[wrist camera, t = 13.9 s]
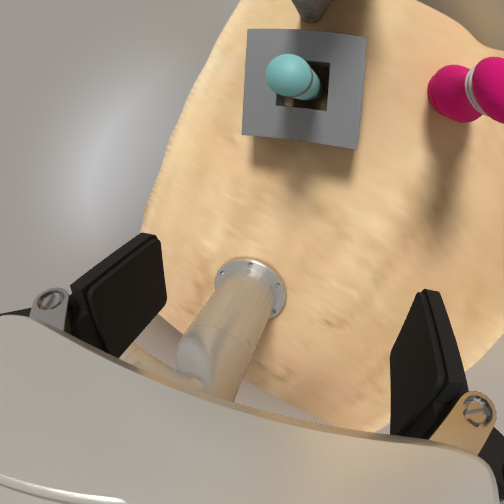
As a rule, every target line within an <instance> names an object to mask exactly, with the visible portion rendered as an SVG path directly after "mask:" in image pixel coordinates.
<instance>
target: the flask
mask: <svg viewBox="0 0 504 504" xmlns="http://www.w3.org/2000/svg"><path fill="white" fill-rule="evenodd" d="M332 1H333V0H292V2H293V4H294V5H295V7H296V9H297V11H298V12H299V14H300V16H301V18H302V19H303V20H304V21H306V22H308V23H315V22H317V21H319V20H320V19H321V17H322V15H323V14H324V12H325V10H326V9H327V8H328V6H329V5H330V3H331V2H332Z"/></svg>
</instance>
